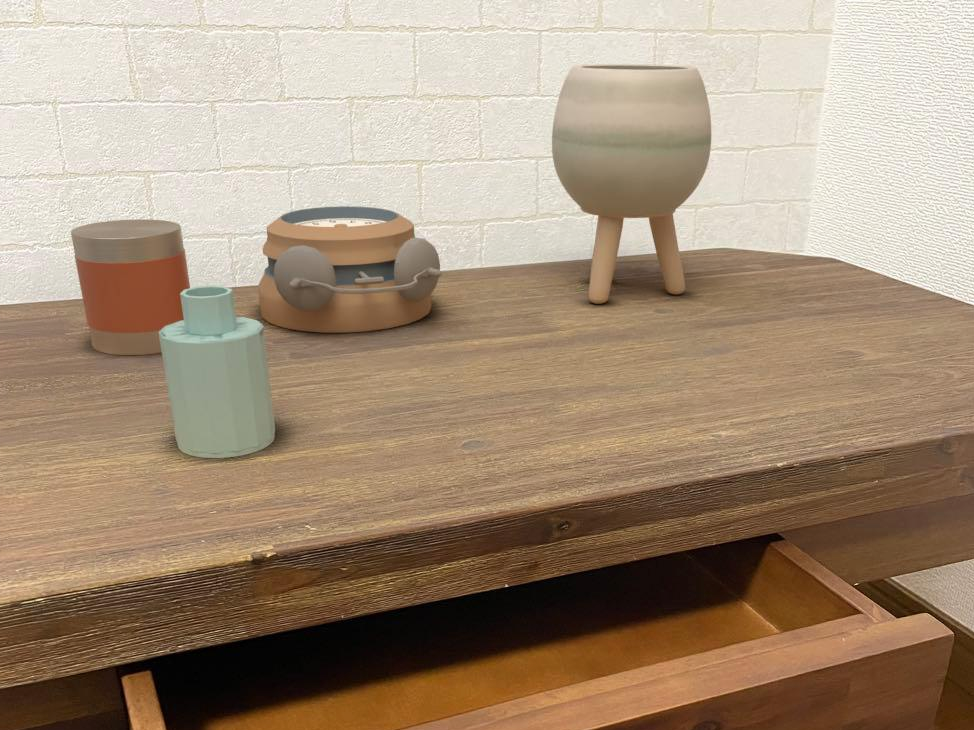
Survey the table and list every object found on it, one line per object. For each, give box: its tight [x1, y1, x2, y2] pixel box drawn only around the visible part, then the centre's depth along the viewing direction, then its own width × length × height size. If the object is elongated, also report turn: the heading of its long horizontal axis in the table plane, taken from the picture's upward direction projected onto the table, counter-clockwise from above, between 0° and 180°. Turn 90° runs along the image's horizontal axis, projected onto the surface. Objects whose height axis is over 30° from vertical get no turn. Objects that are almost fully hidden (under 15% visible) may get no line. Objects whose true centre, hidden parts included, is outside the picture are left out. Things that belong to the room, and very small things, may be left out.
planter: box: [551, 63, 712, 305], centre depth 108 cm, size 16×16×22 cm
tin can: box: [70, 218, 191, 356], centre depth 93 cm, size 9×9×10 cm
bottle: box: [159, 285, 276, 459], centre depth 71 cm, size 7×7×10 cm
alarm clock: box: [257, 205, 442, 334], centre depth 101 cm, size 17×9×23 cm
